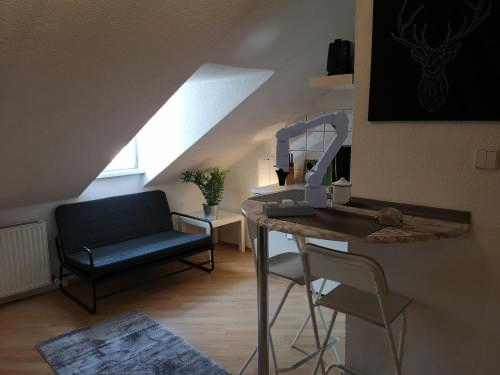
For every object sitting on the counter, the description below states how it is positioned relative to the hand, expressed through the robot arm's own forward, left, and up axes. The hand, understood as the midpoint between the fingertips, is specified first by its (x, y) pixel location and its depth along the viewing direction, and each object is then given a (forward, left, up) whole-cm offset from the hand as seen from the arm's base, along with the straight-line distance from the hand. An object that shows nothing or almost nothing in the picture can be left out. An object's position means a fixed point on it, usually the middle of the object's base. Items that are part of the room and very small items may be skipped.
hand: (281, 185), depth 185 cm
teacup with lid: (-30, -6, -10) cm, 32 cm away
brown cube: (+7, +14, -8) cm, 18 cm away
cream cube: (+1, +14, -7) cm, 16 cm away
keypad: (+1, +14, -9) cm, 17 cm away
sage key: (-6, +14, -8) cm, 17 cm away
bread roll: (-33, +35, -10) cm, 49 cm away
